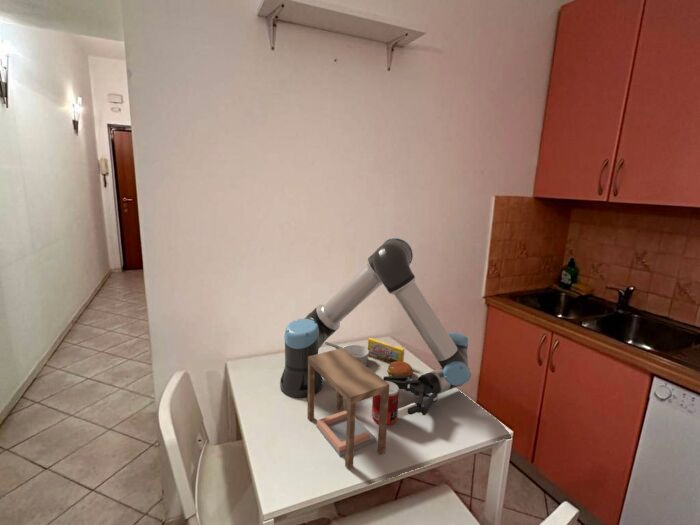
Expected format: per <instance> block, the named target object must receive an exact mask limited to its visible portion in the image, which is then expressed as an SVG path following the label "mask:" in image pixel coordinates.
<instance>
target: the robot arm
mask: <svg viewBox="0 0 700 525" xmlns="http://www.w3.org/2000/svg"><path fill="white" fill-rule="evenodd" d="M382 243H383V244H381V245H380V246H379V247H378V248H377V249H376V250H375V251H374V252H373V253H372V254H371V255H370V256H369V257H368V258H367V260H366V261H367V264H366V265H365V267H363V268H362V269H361V270H360V271H359V272H358V273H357V274H356V275H355V276H354V277H353V278H352V279H351V280H349V281H348V282H347V284H345V285H344V286H343V287H342V288H341V289H340V290H339V291H338V292H337V293H336V294H335V295H334V296H332V298H330V299H329V300H328V301H327V302H326V303H325V304H319V305H317V306H316V307H315V308H314V309H313V310H312V311H310V312H309V313H308V314H307V315H306V317H304V318H297V320H292V321H291V322H289V323H288V324H287V325H286V327H285V330H284V367H283V368H284V369H283V372H282V374H281V378H280V382H279V384H280V385H279V386H280V387H279V388H280V391H281V392H282V393H283V394H284V395H287V396H289V397H293V398H308V356H312V355H316V354H319V349H320V348H321V347H322V346H323V345H324V344H325V342H327V340H328V339H329V338H330V337H331V336H332V335H333V334H334V333H335V332H336V331H338V329H339V328H341V321H343V320H344V319H345V318H346V317H347V316H348V315H350V313H351V312H353V311H355V309H356V308H357V307H358V306H359V305H361V304H362V303H363V302H364V301H365V300H366V299H367V298H369V297H370V295H371V294H373V292H375V291H376V290H377V289H379V287H380V286H382V285H383V286H384V288H385V289H386V290H387V292H388V294H390V295H393V296H394V297H395V298H396V300H397V301H398V303H399V305H400V306H401V307H402V309H403V311H404V312H405V314H406V315H407V317H408V319H409V320H410V321H411V322H412V324H413V325H414V327H415V328H416V330H417V332H418V333H419V335H420V336H421V338H422V339H423V341H424V342H425V344H426V345H427V347H428V349H429V350H430V351H431V353H432V355H433V356H434V358H435V359H436V360H437V362H438V363H439V366H441V368H438V369H435V370H432V371H430V372H426V373H424V374H422V375H420V376H419V377H418V378H417V379H413V378H412V379H411V375H406V376H383V377H382V379H383V380H385V381H389V382H393V383H395V384H396V385H397V386H398V387H399V390H404V391H405V392H409V393H411V394H413V395H414V396H415V397H418V398H417V402H416V403H415V402H413V403H412V402H411V403H410V404H407V405H405V406H403V407H399V408H398V410H397V419H401V418H403V417H406V416H409V415H410V416H411V415H414V414H416V413H417V414H418V413H420V414H421V415H422V416H426V415H427V414H428V412H429V411H430V409H431V408H432V406H433V404H434V403H437V401H438V395H439V394H442V393H444V392H447V391H449V390H452V389H455V388H459V387H461V386H463V385H464V384H467V383H468V382H469V381H471V380H470V379H471V376H472V373H471V370H470V367H469V359H468V356H469V355H468V347H469V338H468V336H467V335H466V334H463V333H460V332H458V331H457V332H453V331H452V332H448V331H447V330H446V328H445V326H444V325H443V324H442V322H441V320H440V318H439V317H438V315H437V314H436V312H435V311H434V310H433V308H432V307H431V305H430V303H429V302H428V300H427V299H426V297H425V295H424V294H423V292H422V291H421V289H420V288H419V286H418V285H417V283H416V282H415V281H416V276H415V274H414V273H413V272H412V268H411V266H410V265H411V263H412V261H413V258H414V257H413V256H414V255H413V249H412V247H411V245H410V244H409V243H408V242H407V241H406V240H404V239H403V238H400V237H393V238H389V239H387V240H385V241H384V242H382ZM323 380H324V378H323V377H322V376H321V375H320V374H319V373H318V372H317V371H316V370H315V379H314V395H316V394H318V393H319V392H321V390H322V389H323ZM424 398H427V399H426V401H425V402H424V404H423V400H424Z"/></svg>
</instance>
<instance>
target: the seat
mask: <svg viewBox="0 0 700 525" xmlns="http://www.w3.org/2000/svg"><path fill="white" fill-rule="evenodd" d="M315 427H316V428H317V430H318V431H319V432H320V434H321V435H322V436H323V438H325V440H326V441H327V442H328V443H329V446H331V448H332V449H333V450H334V451H335V452H336V454H337V455H338V456H339V457H343V456H344V455H345V456H346V429H347V409H346V410H342V411H340V412H336V413H334V414H332V415H329V416H326V417H323V418H320V419H318V420H317V421H316V424H315ZM376 441H377V437H376V436H375V435H374V434H373V433H372V432H370V430H368V428H366V426H365V425H364V424H363V423H362V422H361V421H360V420H359V419H358V418H357V417H356V416H355V434H354V451H356V450H358V449H361V448H364V447H366V446H367V445H369V444H370V445H371V444H372V443H376Z"/></svg>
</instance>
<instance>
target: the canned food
mask: <svg viewBox="0 0 700 525" xmlns="http://www.w3.org/2000/svg"><path fill="white" fill-rule="evenodd" d="M386 382H387V383H388V384H389V399H388V415H387V426H392V425H394V424H395V423H396V421H397V419H398V417H397V413H398V409H399V408H398V407H399V397H400V396H399V395H400V394H399V393H400V389H399V387H398V386H397V385H396V384H395V383H393V382H389V381H386ZM380 399H381V394H379V395H377V396H374V397H372V400H371V401H372V405H371V417H372V420H373V421H374V422H375V423H376V424H378V425H379V416H380Z"/></svg>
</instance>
